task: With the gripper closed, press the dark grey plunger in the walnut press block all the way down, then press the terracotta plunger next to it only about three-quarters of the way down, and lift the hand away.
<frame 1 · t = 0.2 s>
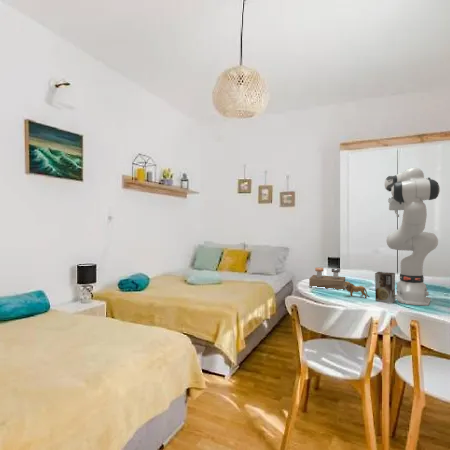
hand: (405, 217, 211), 48 cm above the table, tool pointing down, fingers open, 8 cm apart
press block: (327, 286, 219), on the table
plunger terracotta: (319, 273, 222), point 8 cm above the table, slide at 0.0 cm
lion figurine: (355, 297, 189), on the table
plunger grey: (335, 274, 217), point 8 cm above the table, slide at 0.0 cm
coffee box: (385, 301, 179), on the table
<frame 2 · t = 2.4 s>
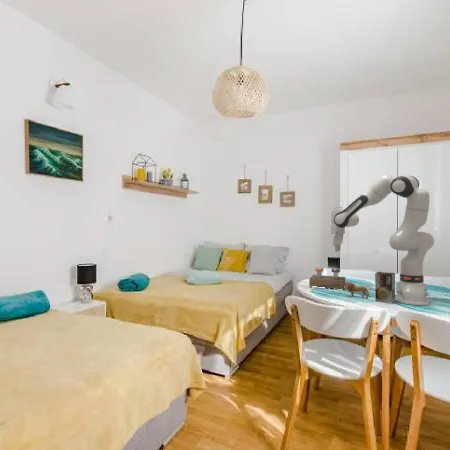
hand: (337, 251, 217), 25 cm above the table, tool pointing down, fingers open, 8 cm apart
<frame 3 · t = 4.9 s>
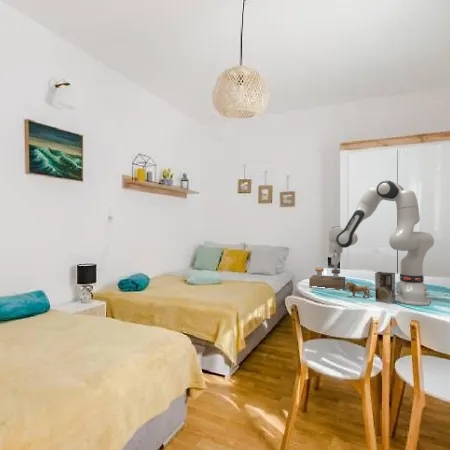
hand: (335, 269, 217), 12 cm above the table, tool pointing down, fingers closed, pressing on plunger grey
plunger grey: (335, 275, 217), point 8 cm above the table, slide at 0.7 cm, touching gripper
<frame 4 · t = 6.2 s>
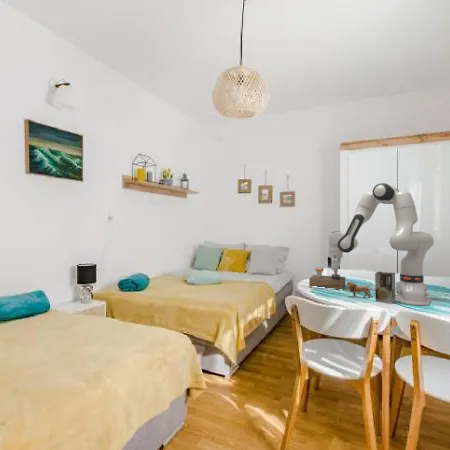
hand: (335, 274, 217), 8 cm above the table, tool pointing down, fingers closed
plunger grey: (335, 280, 217), point 4 cm above the table, slide at 4.1 cm
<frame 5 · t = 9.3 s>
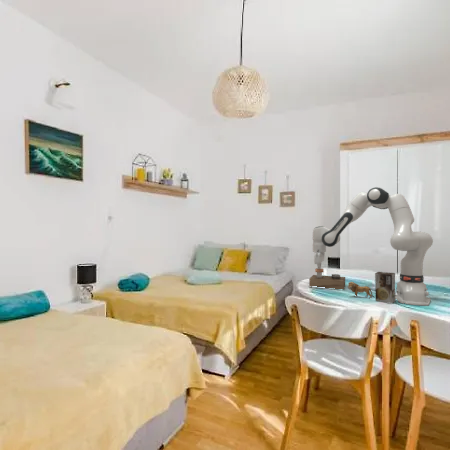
hand: (319, 268, 222), 12 cm above the table, tool pointing down, fingers closed, pressing on plunger terracotta
plunger terracotta: (319, 274, 222), point 8 cm above the table, slide at 0.6 cm, touching gripper
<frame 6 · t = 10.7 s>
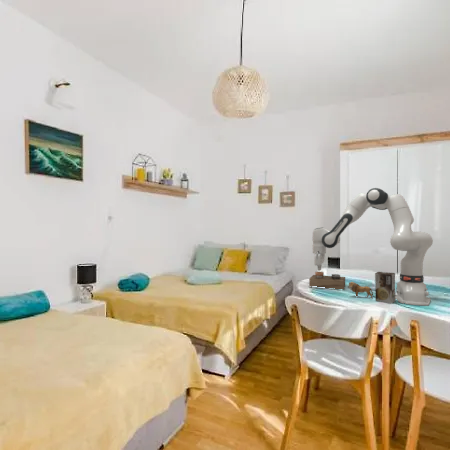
hand: (319, 270, 221), 11 cm above the table, tool pointing down, fingers closed
plunger terracotta: (319, 277, 222), point 6 cm above the table, slide at 2.9 cm
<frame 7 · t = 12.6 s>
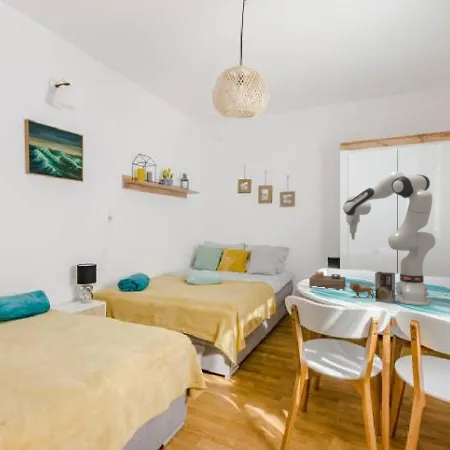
hand: (353, 239, 223), 32 cm above the table, tool pointing down, fingers closed
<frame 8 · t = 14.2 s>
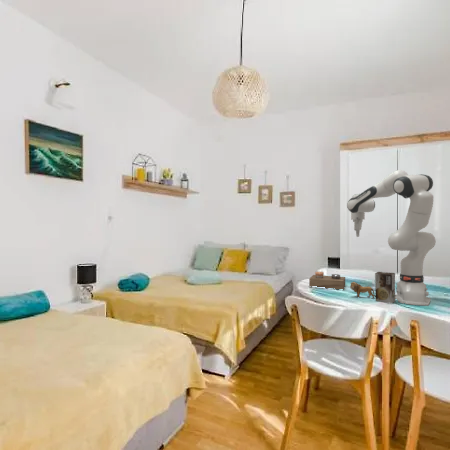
hand: (357, 236, 223), 34 cm above the table, tool pointing down, fingers closed
at the end: plunger grey slide at 4.1 cm; plunger terracotta slide at 2.9 cm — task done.
